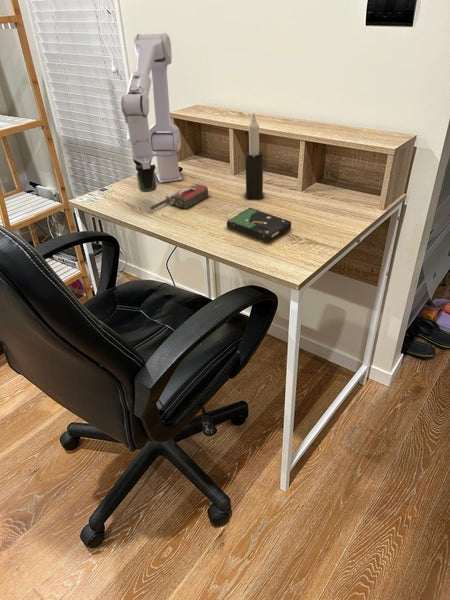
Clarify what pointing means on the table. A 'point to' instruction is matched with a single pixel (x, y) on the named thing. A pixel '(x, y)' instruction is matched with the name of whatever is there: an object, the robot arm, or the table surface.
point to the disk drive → (259, 225)
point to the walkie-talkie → (185, 197)
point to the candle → (254, 163)
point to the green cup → (141, 186)
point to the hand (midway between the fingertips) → (147, 184)
